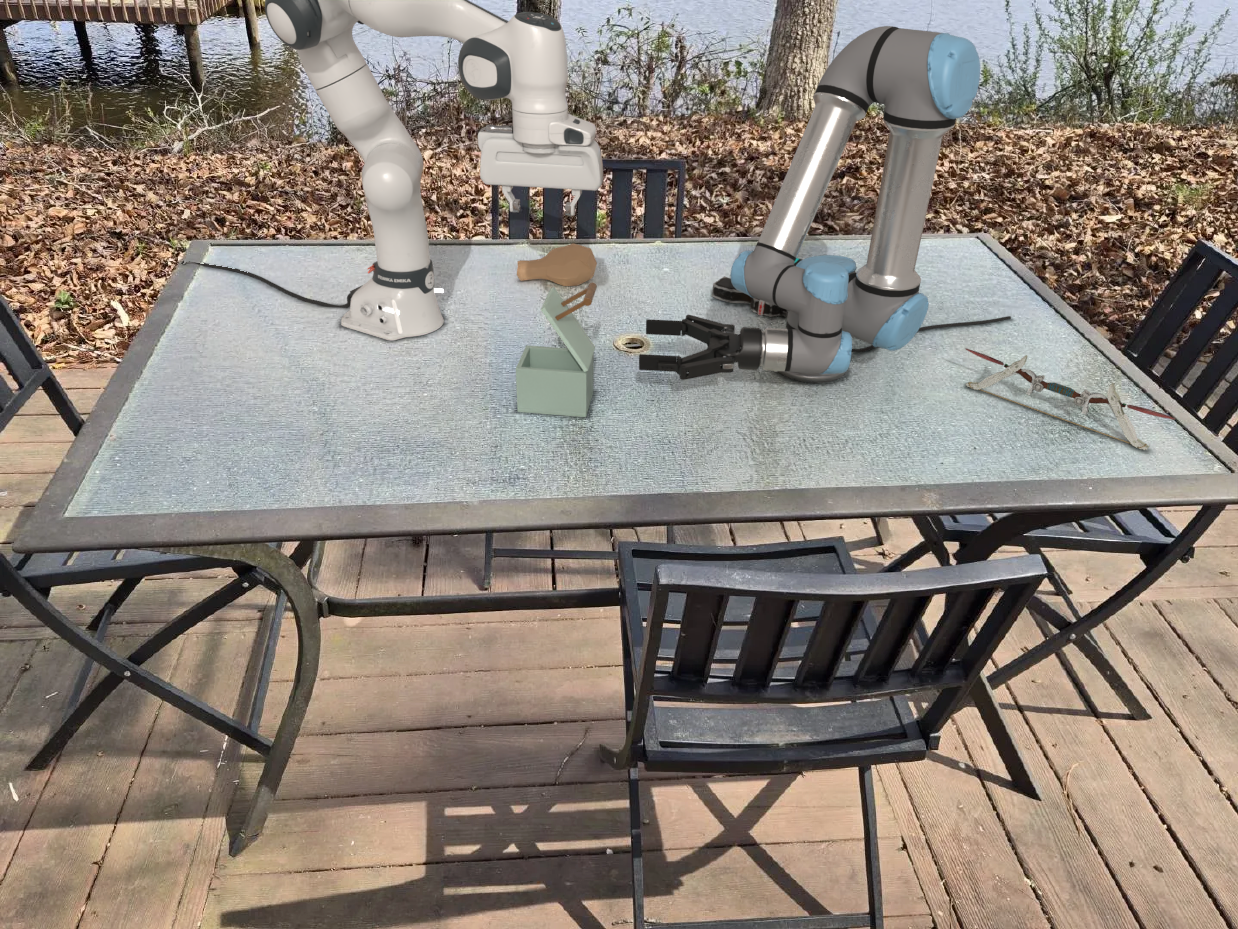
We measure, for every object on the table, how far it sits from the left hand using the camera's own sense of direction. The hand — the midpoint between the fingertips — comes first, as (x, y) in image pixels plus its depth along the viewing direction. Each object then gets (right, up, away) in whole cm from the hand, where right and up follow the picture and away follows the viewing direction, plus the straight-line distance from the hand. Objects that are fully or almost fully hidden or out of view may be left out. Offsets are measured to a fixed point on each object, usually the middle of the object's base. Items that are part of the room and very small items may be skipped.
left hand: (542, 212), depth 148 cm
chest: (+1, -31, +20) cm, 37 cm away
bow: (+96, -33, +20) cm, 104 cm away
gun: (+50, 0, +68) cm, 85 cm away
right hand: (+17, -21, +10) cm, 29 cm away
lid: (+4, -18, +11) cm, 22 cm away
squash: (-3, +3, +70) cm, 70 cm away
